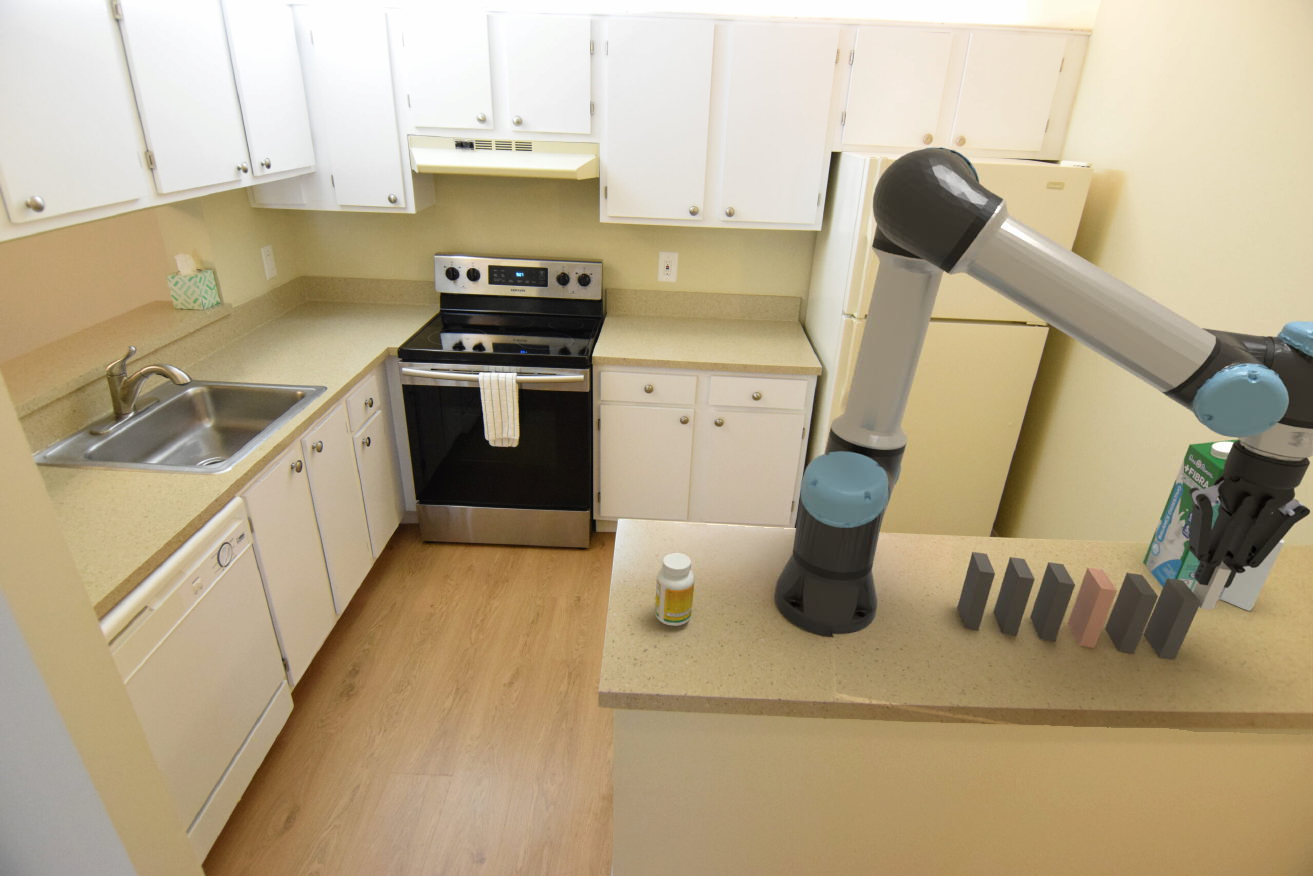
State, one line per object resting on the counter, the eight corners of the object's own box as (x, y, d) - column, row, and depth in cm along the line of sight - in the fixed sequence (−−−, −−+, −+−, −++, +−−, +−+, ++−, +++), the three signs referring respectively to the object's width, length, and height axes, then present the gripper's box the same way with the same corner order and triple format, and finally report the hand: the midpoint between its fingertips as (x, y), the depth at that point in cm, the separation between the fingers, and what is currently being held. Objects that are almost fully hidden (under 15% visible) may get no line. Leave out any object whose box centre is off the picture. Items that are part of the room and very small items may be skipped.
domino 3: (1040, 639, 99) (1059, 582, 95) (1030, 617, 104) (1048, 562, 100) (1055, 641, 99) (1075, 584, 95) (1044, 619, 103) (1063, 564, 99)
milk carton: (1141, 563, 118) (1194, 430, 108) (1199, 570, 117) (1258, 436, 107) (1168, 595, 110) (1227, 454, 100) (1230, 603, 109) (1297, 461, 99)
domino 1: (964, 628, 101) (980, 571, 97) (957, 606, 105) (972, 551, 101) (978, 630, 101) (995, 573, 96) (971, 608, 105) (986, 553, 101)
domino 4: (1079, 645, 98) (1101, 588, 94) (1067, 623, 103) (1087, 567, 99) (1094, 648, 98) (1116, 590, 94) (1082, 625, 103) (1102, 569, 98)
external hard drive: (1191, 582, 113) (1219, 516, 108) (1252, 608, 107) (1286, 540, 102) (1187, 585, 112) (1216, 520, 107) (1249, 612, 106) (1283, 543, 101)
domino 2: (1001, 633, 100) (1019, 576, 96) (993, 612, 105) (1009, 557, 100) (1016, 635, 100) (1034, 579, 96) (1007, 614, 104) (1024, 558, 100)
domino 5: (1118, 651, 98) (1142, 593, 93) (1105, 628, 102) (1126, 572, 98) (1134, 653, 97) (1158, 596, 93) (1119, 630, 102) (1142, 574, 98)
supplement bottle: (647, 614, 101) (649, 559, 97) (672, 598, 104) (675, 545, 100) (674, 632, 98) (677, 576, 94) (699, 615, 101) (703, 561, 97)
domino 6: (1159, 657, 97) (1184, 599, 93) (1143, 634, 101) (1167, 578, 97) (1174, 660, 96) (1200, 602, 92) (1158, 636, 101) (1182, 580, 97)
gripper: (1230, 455, 83) (1162, 612, 93) (1354, 468, 81) (1271, 628, 91) (1198, 430, 90) (1138, 580, 99) (1312, 442, 87) (1239, 594, 97)
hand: (1201, 603), depth 95 cm, fingers closed
